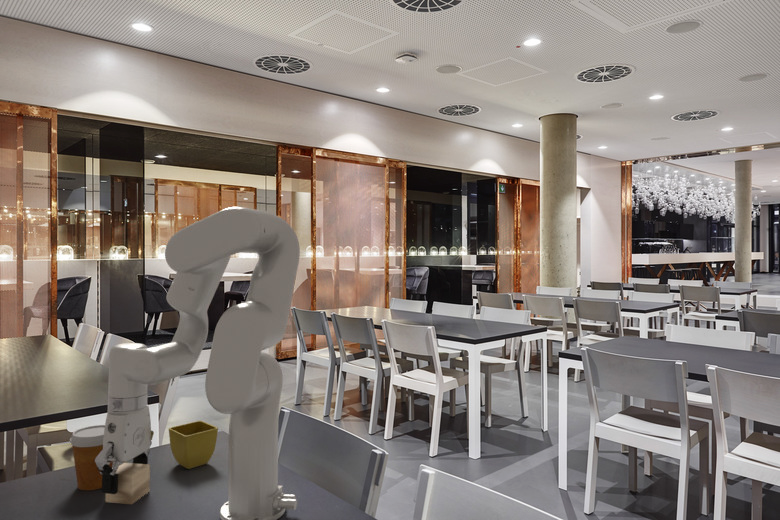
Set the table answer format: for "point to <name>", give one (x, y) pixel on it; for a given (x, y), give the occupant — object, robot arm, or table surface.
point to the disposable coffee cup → (88, 456)
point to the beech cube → (131, 483)
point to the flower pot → (193, 443)
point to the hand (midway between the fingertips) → (125, 483)
